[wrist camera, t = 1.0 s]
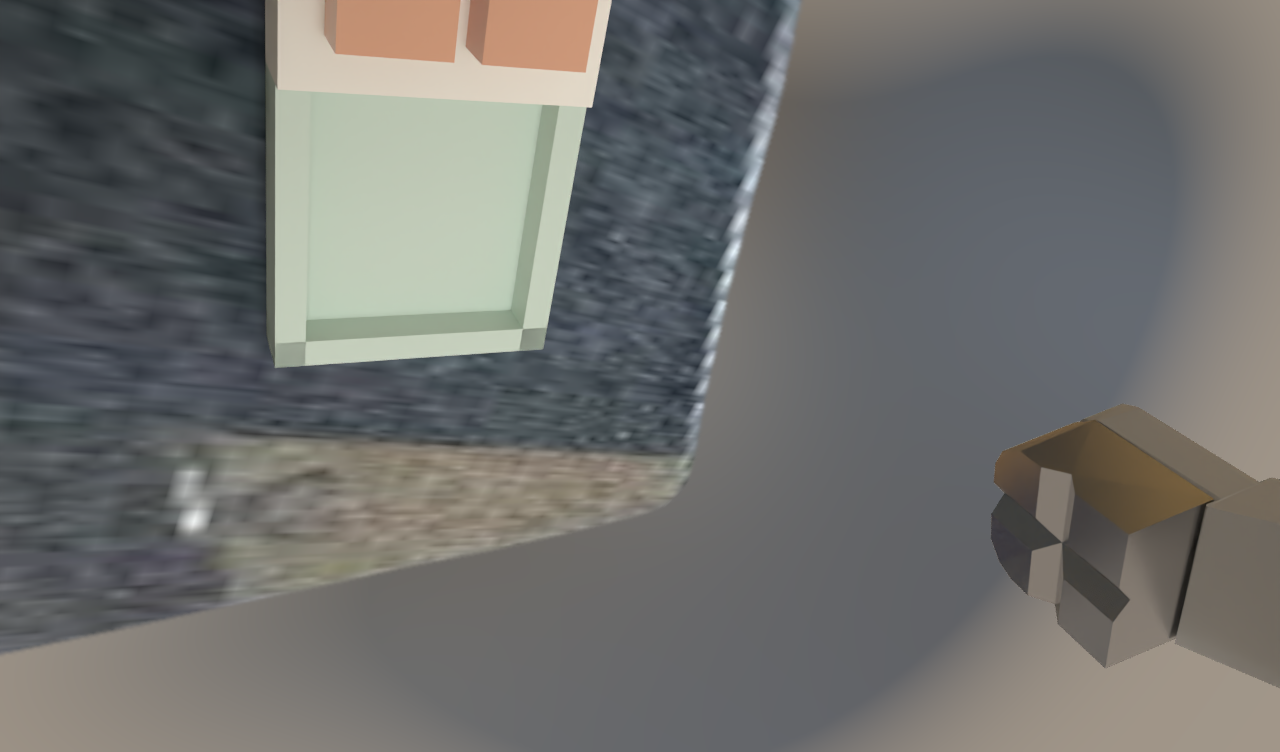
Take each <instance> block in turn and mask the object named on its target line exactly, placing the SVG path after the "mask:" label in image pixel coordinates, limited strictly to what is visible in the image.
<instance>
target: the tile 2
mask: <svg viewBox="0 0 1280 752" xmlns="http://www.w3.org/2000/svg"><path fill="white" fill-rule="evenodd" d="M597 5H598V0H470V9H469V19H468V28H467V37H466V48H467V49H468V50H469V51H470V52H471V53H472V54H473V56H474V57H475V58H476V59H477V60H478V61H479V62H480V63H481V64H482V65H490V66H503V67H516V68H530V69H543V70H556V71H570V72H583V73H586V67H587V62H588V56H589V50H590V45H591V39H592V33H593V28H594V22H595V16H596V11H597Z"/></svg>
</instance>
